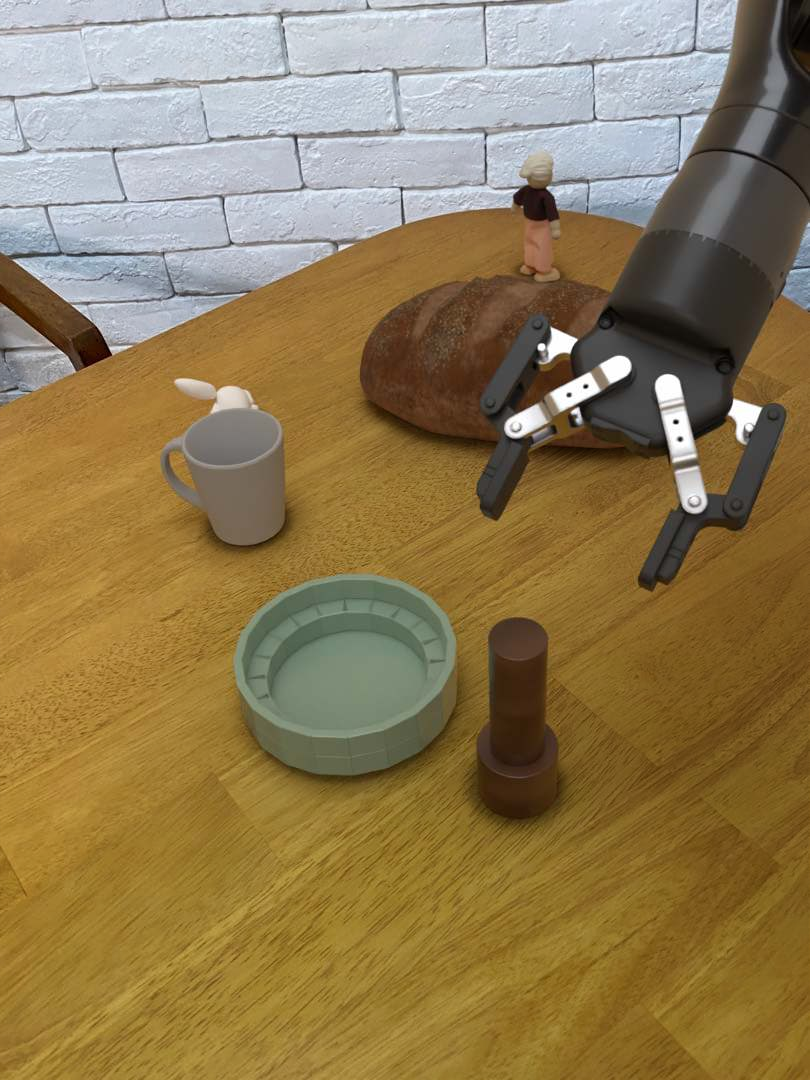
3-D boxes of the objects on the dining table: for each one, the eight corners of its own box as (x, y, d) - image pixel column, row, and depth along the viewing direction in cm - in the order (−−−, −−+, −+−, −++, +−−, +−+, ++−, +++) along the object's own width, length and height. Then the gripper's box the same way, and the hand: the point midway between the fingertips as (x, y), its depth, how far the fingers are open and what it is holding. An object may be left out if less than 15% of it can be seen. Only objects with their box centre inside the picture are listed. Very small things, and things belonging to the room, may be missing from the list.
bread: (688, 477, 90) (704, 354, 83) (340, 438, 97) (325, 322, 90) (701, 371, 101) (717, 255, 94) (388, 343, 108) (379, 233, 101)
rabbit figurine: (280, 428, 99) (207, 431, 93) (255, 451, 101) (183, 455, 95) (254, 370, 100) (181, 370, 94) (231, 394, 103) (158, 395, 97)
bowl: (499, 718, 73) (499, 672, 70) (304, 820, 68) (295, 774, 65) (389, 592, 82) (385, 546, 79) (211, 674, 77) (199, 628, 74)
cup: (281, 560, 86) (265, 471, 80) (158, 548, 88) (134, 460, 82) (308, 497, 91) (295, 410, 86) (192, 487, 93) (172, 401, 88)
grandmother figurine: (577, 276, 116) (582, 155, 108) (552, 290, 114) (555, 168, 106) (521, 253, 120) (522, 136, 112) (497, 266, 119) (496, 148, 110)
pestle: (572, 795, 68) (581, 646, 60) (507, 832, 66) (506, 685, 58) (526, 742, 71) (528, 594, 63) (462, 776, 70) (455, 629, 61)
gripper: (572, 186, 56) (422, 469, 54) (855, 279, 51) (702, 594, 49) (585, 260, 63) (452, 514, 61) (835, 349, 58) (700, 627, 56)
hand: (564, 549), depth 55 cm, fingers open, 8 cm apart
